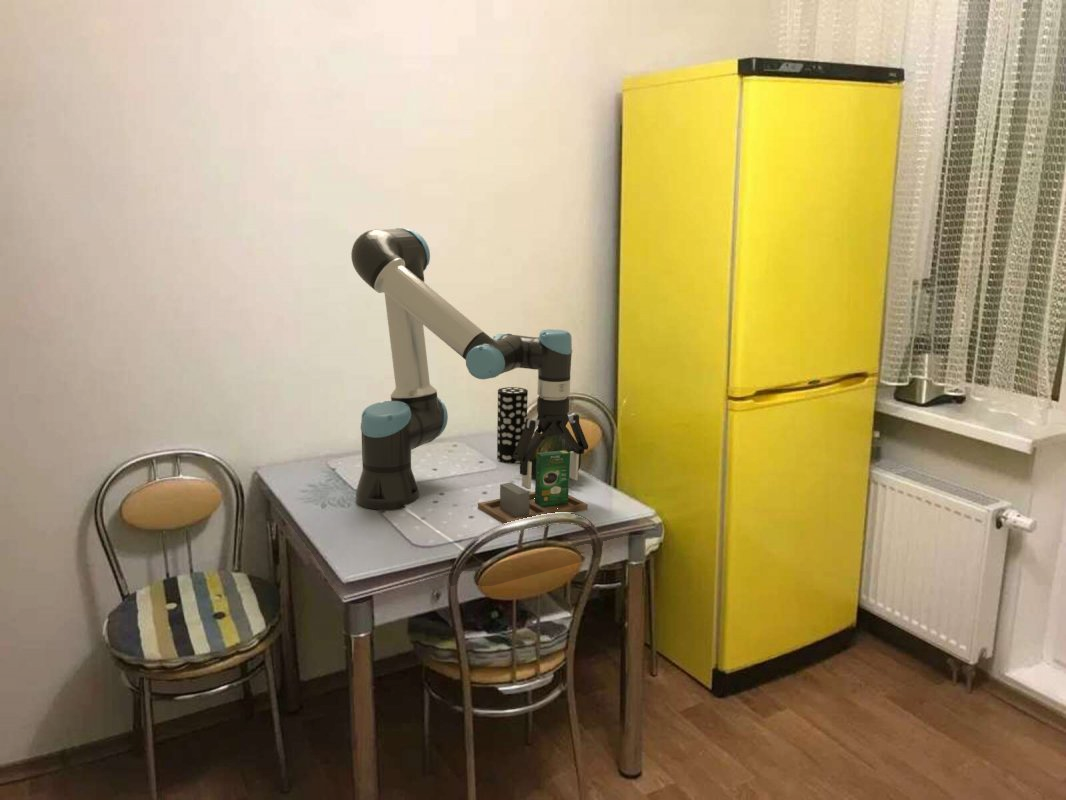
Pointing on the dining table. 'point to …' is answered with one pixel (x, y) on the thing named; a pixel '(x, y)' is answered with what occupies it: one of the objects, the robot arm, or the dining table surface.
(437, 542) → the dining table surface
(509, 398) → the white-spotted black cylinder
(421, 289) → the robot arm
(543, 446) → the squash
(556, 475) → the coffee box
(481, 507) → the tray
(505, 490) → the block
